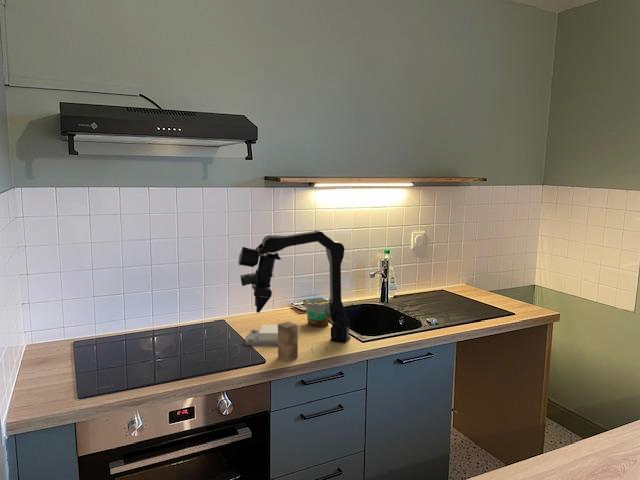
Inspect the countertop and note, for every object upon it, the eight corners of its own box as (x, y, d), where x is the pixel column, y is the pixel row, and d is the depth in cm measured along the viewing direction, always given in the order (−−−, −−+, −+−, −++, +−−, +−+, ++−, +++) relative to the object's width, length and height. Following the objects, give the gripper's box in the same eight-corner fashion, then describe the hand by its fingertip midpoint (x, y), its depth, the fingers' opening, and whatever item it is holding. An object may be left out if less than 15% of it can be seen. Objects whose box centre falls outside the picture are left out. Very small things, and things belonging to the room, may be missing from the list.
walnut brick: (288, 353, 183) (288, 321, 181) (297, 357, 180) (297, 324, 178) (278, 357, 180) (277, 324, 178) (287, 361, 176) (286, 327, 174)
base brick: (299, 333, 206) (299, 323, 205) (297, 345, 192) (297, 335, 191) (250, 332, 206) (250, 323, 205) (245, 345, 192) (245, 334, 191)
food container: (299, 325, 216) (299, 303, 214) (306, 321, 221) (306, 299, 220) (324, 329, 210) (324, 306, 208) (331, 325, 215) (331, 303, 214)
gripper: (243, 261, 194) (235, 299, 195) (244, 270, 175) (236, 312, 177) (271, 266, 196) (263, 304, 197) (275, 275, 178) (267, 317, 179)
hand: (257, 309), depth 188 cm, fingers open, 9 cm apart
